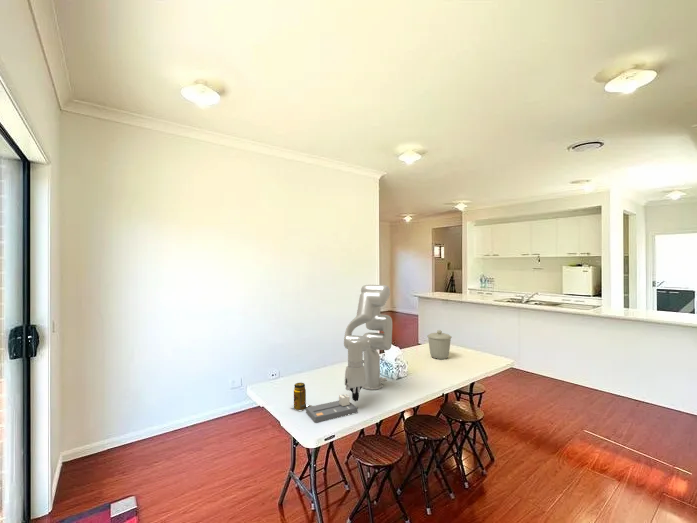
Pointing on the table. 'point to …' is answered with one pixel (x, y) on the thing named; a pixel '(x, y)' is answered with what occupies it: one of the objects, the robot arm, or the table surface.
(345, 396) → the fader knob
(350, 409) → the fader console
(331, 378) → the table surface
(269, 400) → the table surface
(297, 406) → the condiment
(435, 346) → the canister
